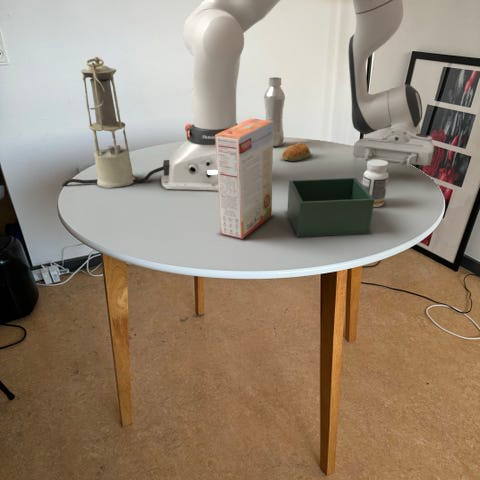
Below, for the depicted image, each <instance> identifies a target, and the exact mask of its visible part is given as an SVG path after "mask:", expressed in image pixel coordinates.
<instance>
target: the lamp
mask: <svg viewBox="0 0 480 480" xmlns="http://www.w3.org/2000/svg"><path fill="white" fill-rule="evenodd" d="M104 63H105V61H104V60H103V59H102V58H100V57H98V56H95V57H93V58H90V59H88V60H86V62H85V64H86V65H87V68H83V69H81V70H80V72H81V74H82V81H83V84H84V93H85V103H86V111H87V116H88V122H89V124H88V128H89V130H91V131H93V133H92V134H93V136H94V137H93V138H94V146H95V151H94V152H93V158H94V162H95V169H96V176H97V179H98V181H97V183H96V184H97V186H98V187H102V188H104V189H115V188H119V187H125V186H129V185H132V184H134V183H133V180H136V177H135V175H134V172H133V167H132V162H131V157H130V151H129V149H130V148H129V145H128V139H127V135H126V130H125V127H126V123H125V122H122V120H121V115H120V108H119V103H118V96H117V92H116V91H117V90H116V85H115V82H114V81H115V79H114V75H115V74H116V72H117V69H116V68H112V67H109V66H107V65H104ZM87 78H90V79H89V81H90V86H91V93H92V99H93V104H94V105H93V106H94V107H90V106H89V105H90V104H89V98H88V97H89V96H88V90H87V82H86V80H87ZM113 97H114V98H113ZM91 110H92V111H93V110H94V115H95V122H93V123H92V118H91V117H92V116H91ZM122 129H123V131H122V133H123V138H124V144H125V148H124V147H121V145H120V144H118V145H117V140H116V135H115V133H116V131H118V130H122ZM102 131H104V132H111V135H112V139H113V145H108V146H107V147H106V148H101V149H100V147H99V142H98V134H97V132H102Z"/></svg>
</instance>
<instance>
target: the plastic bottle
mask: <svg viewBox="0 0 480 480" xmlns="http://www.w3.org/2000/svg"><path fill="white" fill-rule="evenodd" d="M268 86H269V87H268V88H267V89H266V91H265V93H264V96H263V101H264V111H265V120H267V121H273V147H278V146H282V144H283V143H284V139H285V134H284V123H283V118H284V117H283V115H284V107H285V101H286V96H285V92H284V91H283V89H282V87H281V86H282V77H277V76H275V77H269V78H268Z"/></svg>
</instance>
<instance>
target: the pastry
mask: <svg viewBox="0 0 480 480" xmlns="http://www.w3.org/2000/svg"><path fill="white" fill-rule="evenodd" d="M310 155H311V151H310V148H309V146H308V145H307V144H306V143H305V142H297V143H296V144H292V145H289V146H288V147H287V148H286V149H285V150H284V151H283V152H282V154H281V158H282V160H286V161H290V162H297V161H302V160H305V159H308V158H309V156H310Z"/></svg>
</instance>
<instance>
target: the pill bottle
mask: <svg viewBox="0 0 480 480" xmlns="http://www.w3.org/2000/svg"><path fill="white" fill-rule="evenodd" d="M388 168H389V162H388V161H384V160H376V159H372V160H369V161H367V163H366V170H365V171H364V172H363V176H362V177H363V178H362V183H361V185H362V186H363V187H364V188H365V189H366V190H367V192H368V193H369V194H370V195H371V196H372V197H373V199H374V206H373V208H378V207H379V208H380V207H381V206H383V205H384V203H385V199H386V194H387V193H386V192H387V187H388V181H389V173H388V172H387V170H388Z"/></svg>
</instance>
